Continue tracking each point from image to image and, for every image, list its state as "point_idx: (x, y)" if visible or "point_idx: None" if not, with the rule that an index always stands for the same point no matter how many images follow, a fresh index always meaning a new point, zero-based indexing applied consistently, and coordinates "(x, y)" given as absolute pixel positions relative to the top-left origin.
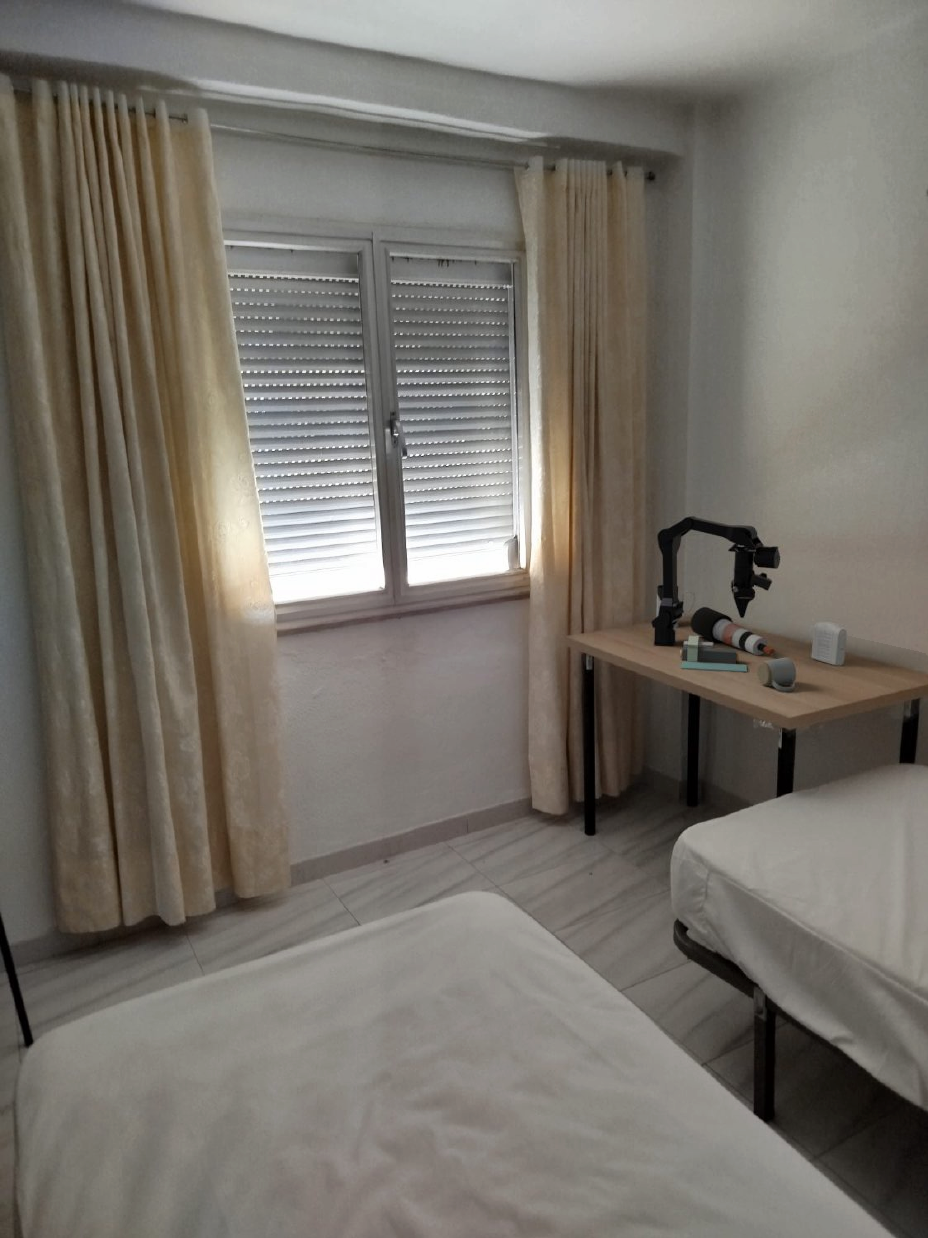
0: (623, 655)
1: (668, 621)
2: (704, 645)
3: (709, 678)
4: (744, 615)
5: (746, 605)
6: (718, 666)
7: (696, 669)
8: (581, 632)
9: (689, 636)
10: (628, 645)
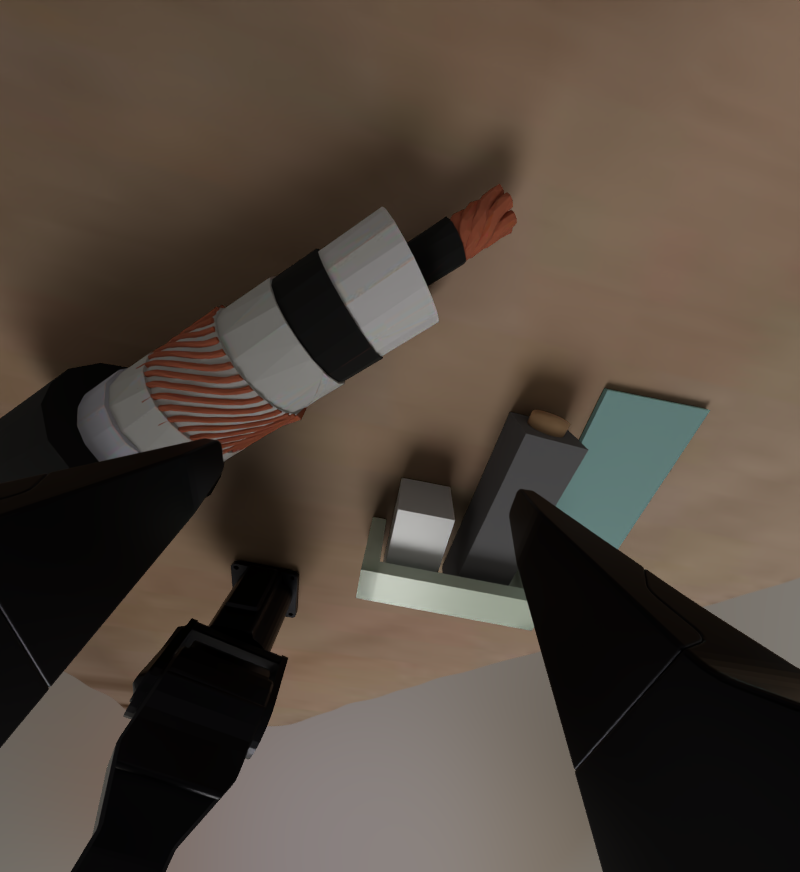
0: (414, 680)
1: (278, 690)
2: (445, 545)
3: (724, 546)
4: (550, 503)
5: (705, 628)
6: (602, 498)
7: None
8: None
9: (376, 600)
10: (305, 658)
